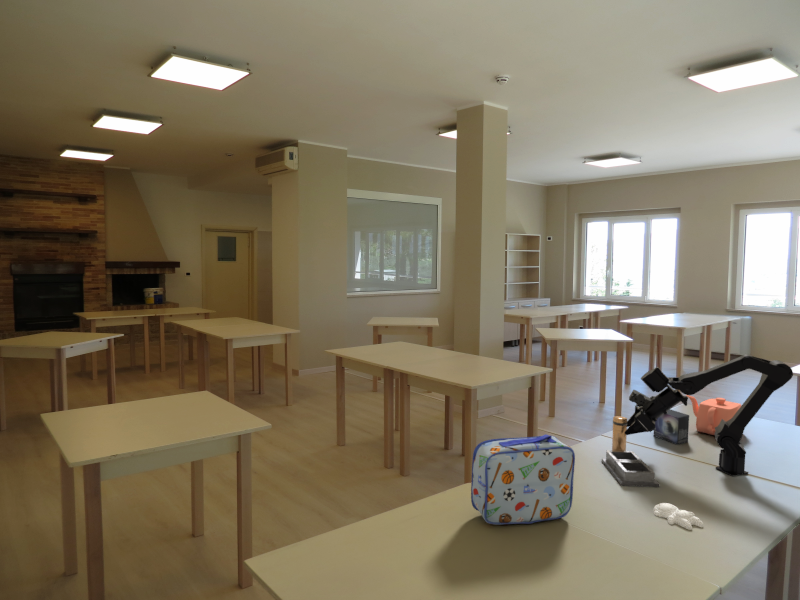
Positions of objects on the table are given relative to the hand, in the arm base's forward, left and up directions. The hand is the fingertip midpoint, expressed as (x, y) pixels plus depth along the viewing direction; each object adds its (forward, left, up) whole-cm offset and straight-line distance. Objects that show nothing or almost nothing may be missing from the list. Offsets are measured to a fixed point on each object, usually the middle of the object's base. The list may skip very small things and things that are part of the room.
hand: (625, 429), depth 179 cm
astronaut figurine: (-41, +16, -10) cm, 45 cm away
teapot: (+14, -51, -9) cm, 54 cm away
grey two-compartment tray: (-13, +9, -9) cm, 18 cm away
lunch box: (-29, +55, -9) cm, 63 cm away
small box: (+10, -28, -9) cm, 31 cm away
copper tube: (+1, +1, -9) cm, 9 cm away
